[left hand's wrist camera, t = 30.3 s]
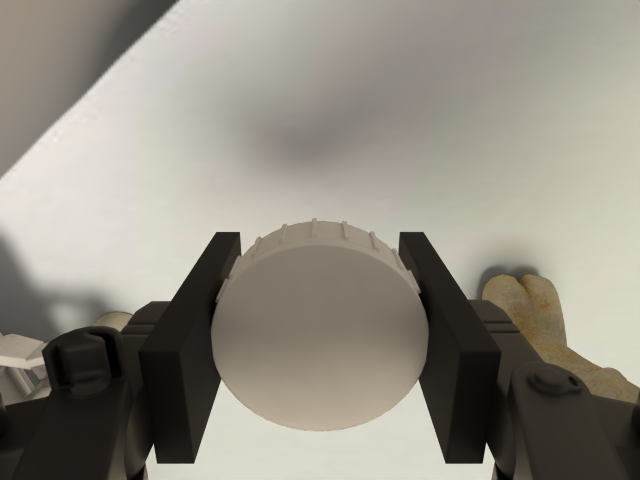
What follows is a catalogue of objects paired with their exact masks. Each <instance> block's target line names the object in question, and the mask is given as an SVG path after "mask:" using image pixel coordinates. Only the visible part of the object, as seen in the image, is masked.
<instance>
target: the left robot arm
mask: <svg viewBox="0 0 640 480" xmlns="http://www.w3.org/2000/svg"><path fill="white" fill-rule="evenodd" d="M398 255H399V257H400V259H401V261H402V263H403V264H404V266H405V268H406V269H407V271H408V270H411V272H412V274H413V276H414V278H415V280H416V283H417V285H418V287H419V289H420V291H421V293H419V294H418V295H419V297H420V300H421V302H422V304H423V307H424V309H425V312H426V316H427V320H428V324H429V337H428V347H427V356H426V362H425V365H424V367H423V370H422V373H421V374H420V376H419V378H418V379H419V382H420V385H421V389H422V392H423V395H424V398H425V401H426V404H427V407H428V410H429V413H430V416H431V419H432V423H433V426H434V429H435V432H436V435H437V438H438V441H439V444H440V447H441V450H442V453H443V457H444V460H445V463H446V464H483V458H484V452H485V446H486V442H487V444H488V446H489V449H490V451H491V453H492V455H493V457H494V460H495V463H494V469H493V474H492V480H640V391H639V394H638V397H637V400H636V403H630V402H625V401H620V400H616V399H611V398H606V397H601V396H597V395H594V394H591V393H590V391H589V389H588V387H587V386H586V385H585V383H584V382H583V381H582V379H580V378H579V377H577V376H576V375H575V374H573V373H572V372H571V371H568V370H566V369H564V368H562V367H559V366H557V365H554V364H550V363H546V362H544V361H543V359H542V358H541V357H540V356H539V354H538V353H537V352H536V351H535V349H534V348H533V347H532V345H531V344H530V343H529V342H528V340H527V339H526V338H525V336H524V335H523V334H522V333H520V330H519V329H518V328H517V326H516V325H515V324H513V321H512V320H511V319H510V317H509V316H508V315H507V313H506V312H505V311H504V310H503V309H502V308H500V307H498V306H497V305H495V304H494V303H492V302H491V301H489V300H468V299H467V298H466V296H465V295H464V293H463V292H462V290H461V289H460V287H459V286H458V284H457V283H456V281H455V280H454V278H453V277H452V275H451V274H450V272H449V270H448V269H447V267H446V266H445V264H444V263H443V261H442V260H441V258H440V257H439V255H438V254H437V252H436V251H435V249H434V248H433V246H432V245H431V243H430V242H429V240H428V239H427V237H426V236H425V234H424V232H400V238H399V253H398ZM238 256H241V242H240V232H216V234H215V235H214V237H213V238H212V240H211V241H210V243H209V244H208V246H207V247H206V249H205V250H204V252H203V253H202V255H201V256H200V258H199V259H198V261H197V262H196V264H195V266H194V267H193V269H192V270H191V272H190V273H189V275H188V276H187V278H186V279H185V281H184V282H183V284H182V285H181V287H180V288H179V290H178V291H177V293H176V294H175V296H174V297H173V299H172V300H171V301H152V302H150V303H148V304H147V305H145V306H144V307H142V308H141V309H139V310H138V311H136V312H135V314H134V315H133V316H132V317H131V319H130V320H129V321H128V323H127V325H125V326H124V328H123V329H122V330H121V332H119V331H118V330H117V329H115V328H112V327H107V326H89V327H85V328H80V329H75V330H73V331H70V332H68V333H65V334H63V335H60V336H59V337H57V338H55V339H54V340H52V341H51V342H49V343H48V344H47V345H46V346H45V347H44V349H43V350H42V351H41V352H42V356H43V359H44V363H45V367H46V371H47V374H48V378H49V382H50V386H51V391H50V394H49V396H46V397H42V398H39V399H34V400H29V401H24V402H19V403H14V404H10V405H5V404H4V401H3V398H2V395H1V392H0V480H148V475H147V469H146V463H145V461H146V459H147V457H148V455H149V452H150V450H151V448H152V446H153V443H154V448H155V454H156V459H157V464H194V462H195V459H196V456H197V453H198V450H199V446H200V443H201V440H202V437H203V434H204V431H205V428H206V425H207V422H208V419H209V416H210V412H211V409H212V406H213V403H214V400H215V397H216V394H217V391H218V388H219V385H220V382H221V377H220V375H219V372H218V370H217V368H216V366H215V362H214V359H213V350H212V340H211V325H212V319H213V315H214V312H215V309H216V306H217V304H218V303H216V302H215V301H216V298H217V296H218V294H219V292H220V289H221V287H222V285H223V283H224V281H225V279H229V277H228V276H229V274H230V272H231V270H232V268H233V265H234V263H235V261H236V259H237V257H238Z"/></svg>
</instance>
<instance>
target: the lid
mask: <svg viewBox="0 0 640 480" xmlns="http://www.w3.org/2000/svg"><path fill="white" fill-rule="evenodd" d="M228 277H229V279H225V281H224V283H223V285H222V287H221V289H220V292H219V294H218V296H217V298H216V301H215V302H216V303H218V304H217V306H216V309H215V312H214V315H213V319H212V325H211V340H212V350H213V359H214V362H215V366H216V368H217V370H218V372H219V375H220V377H221V379H222V380H223V382H224V383H225V385H226V386H227V388H228V389H229V390H230V391H231V393H232V394H233V395H234V396H235V397H236V398H237V399H238V400H239V401H240V402H241V403H242V404H243V405H244V406H246V407H247V408H249V409H250V410H251V411H253V412H254V413H256V414H257V415H259V416H261V417H263V418H265V419H267V420H269V421H272V422H274V423H276V424H279V425H282V426H286V427H289V428H294V429H299V430H306V431H333V430H341V429H346V428H350V427H354V426H358V425H360V424H363V423H366V422H369V421H371V420H373V419H375V418H377V417H379V416H381V415H382V414H384V413H385V412H387V411H389V410H390V409H391V408H393V407H394V406H395V405H396V404H398V403H399V402H400V401H401V400H402V399H403V398H404V397H405V396H406V395H407V394H408V393H409V391H410V390H411V389H412V387H413V386H414V385H415V383H416V382H417V380H418V378H419V376H420V374H421V373H422V370H423V367H424V365H425V362H426V356H427V347H428V337H429V324H428V320H427V316H426V312H425V309H424V307H423V304H422V302H421V300H420V297H419V295H418V294H419V293H421V291H420V289H419V287H418V285H417V283H416V280H415V278H414V276H413V274H412V272H411V270H408V271H407V269H406V268H405V266H404V264H403V263H402V261H401V259H400V257H399V255H398V252H397V250H396V249H395V248H393V249H392V250H391V249H390V248H389V247H388V246H387V245H386V244H385V243H384V242H382V241H381V240H379V239H378V238H376V236H375V233H374V232H372V231H371V232H370V233H367V232H365V231H363V230H361V229H358V228H356V227H353V226H350V225H347V222H346V221H343V222H342V224H341V223H336V222H325V221H317V219H312V222H305V223H299V224H294V225H291V226H287V224H284V225H283V226H282V228H281V229H279V230H277V231H274V232H272V233H270V234H269V235H267V236H265V237H264V238H261V237H258V238H257V239H256V242H255V244H254V245H253V246H252V247H250V248H249V249H248V250H247V252H246V253H245V254H244V255H243V256H242V257H241V256H238V257H237V259H236V261H235V263H234V265H233V268H232V270H231V272H230V274H229V276H228Z"/></svg>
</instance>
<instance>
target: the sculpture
mask: <svg viewBox="0 0 640 480" xmlns="http://www.w3.org/2000/svg"><path fill="white" fill-rule="evenodd" d="M482 300H489V301H491V302H492V303H494V304H495V305H497V306H498V307H500V308H502V309H503V310H504V311H505V312H506V313H507V315H508V316H509V317H510V319H511V320H512V321H513V324H515V325H516V326H517V328H518V329H519V330H520V333H522V334H523V335H524V336H525V338H526V339H527V340H528V342H529V343H530V344H531V345H532V347H533V348H534V349H535V351H536V352H537V353H538V354H539V356H540V357H541V358H542V359H543V361H544V362H546V363H550V364H554V365H557V366H559V367H562V368H564V369H566V370H568V371H571V372H572V373H573V374H575V375H576V376H577V377H579V378H580V379H582V381H583V382H584V383H585V385H586V386H587V387H588V389H589V391H590V393H591V394H594V395H597V396H601V397H606V398H611V399H616V400H620V401H625V402H630V403H636V400H637V397H638V394H639V391H640V388H639V387H637V386H636V385H634V384H632V383H630V382H629V381H627V379H626V378H625V377H624V376H623V375H622V374H621V373H620V372H619V371H618V370H616V369H613V368H602V367H599V366H597V365H595V364H593V363H591V362H590V361H588V360H586V359H585V358H583V357H582V356H580V355H579V354H577V353H576V352H574V351H573V350H571V349H570V348H569V347H567V342H566V333H565V326H564V319H563V314H562V309H561V305H560V301H559V297H558V294H557V291H556V289H555V287H554V286H553V284H552V283H551V281H549V280H548V279H546V278H543V277H539V276H535V275H530V274H527V275H524V276H523V277H522V278H521V279H520V280H519V281H517V280H516V279H515V278H514V277H512V276H509V275H504V274H502V275H498V276H495V277H493V278H491V279H490V280H489V281H488V282H487V283H486V285H485V287H484V290H483V294H482Z"/></svg>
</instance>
